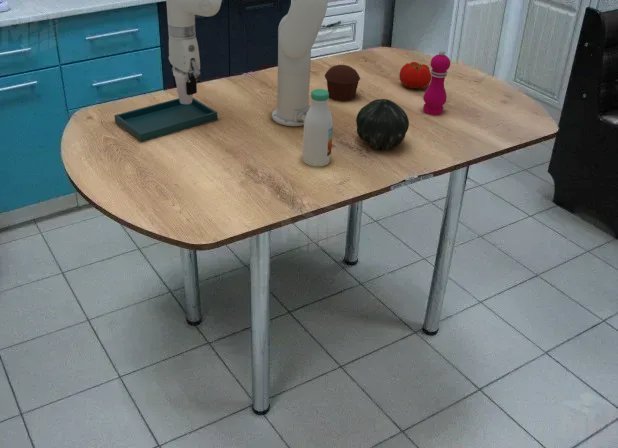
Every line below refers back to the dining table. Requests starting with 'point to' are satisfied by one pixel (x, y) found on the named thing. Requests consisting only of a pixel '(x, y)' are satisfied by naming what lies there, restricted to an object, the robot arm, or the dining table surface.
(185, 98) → the smoothie
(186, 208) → the dining table surface
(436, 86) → the pepper mill
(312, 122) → the milk bottle
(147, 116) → the tray
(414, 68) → the tomato
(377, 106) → the squash
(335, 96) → the muffin
